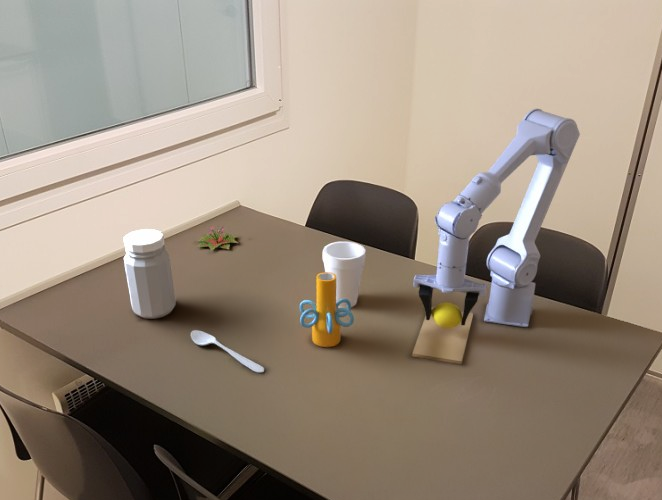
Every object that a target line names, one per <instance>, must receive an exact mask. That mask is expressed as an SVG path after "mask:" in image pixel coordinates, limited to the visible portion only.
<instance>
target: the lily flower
mask: <svg viewBox="0 0 662 500" xmlns="http://www.w3.org/2000/svg"><path fill="white" fill-rule="evenodd" d="M219 226H220V225H218V226H217V228H220V227H219ZM213 229H214V230H213ZM224 230H225V228H224V226H222V227H221V229H220V230H219V229H217V232H216V230H215V227H214V226H213V225H212V227H210V231H208V233H206V235H205V236H203V237H201V238H200V239H197V240H196V241H197V242H198V241H201V242H200V243H199V244H198V245H197V246H196V248H203V247H205V248H206V247H208V248H209V249H210V251H211V252H212V251H213V250H214V249H217V248H220V249H221V248H222V249H225V250H226V249H227V250H230V247H231V245H230V243H233V244H234V243H235V244H239V242H238V241H237V240H236V238H237V237H238V235H232V234H231V235H229V234H228V235H227V234H226V233H224ZM211 232H212V233H211Z"/></svg>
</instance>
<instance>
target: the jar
mask: <svg viewBox="0 0 662 500" xmlns="http://www.w3.org/2000/svg"><path fill="white" fill-rule="evenodd" d="M123 243H124V247H125V253H126V254H125V255H124V257H123V264H124V269H125V276H126V282H127V287H128V293H129V298H130V299H129V300H130V304H131V309H132V312H133V313H134V314H135V315H137V316H139V317H140V318H143V319H151V320H152V319H160V318H163V317H165V316H168V315H169V314H171V312H172V311H173V309H174V308H175V307H176V305H177V303H176V296H175V295H176V294H175V288H174V287H175V286H174V279H173V271H172V264H171V256H170V254H169V252H168V250H167V249H166V246H165V235H164V234H163V232H162V231H159V230H156V229H151V228H149V229H148V228H144V229H137V230H134V231H131V232H129V233H127V234H126V235H125V236H124V237H123Z"/></svg>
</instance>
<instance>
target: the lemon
mask: <svg viewBox="0 0 662 500" xmlns="http://www.w3.org/2000/svg"><path fill="white" fill-rule="evenodd" d="M433 307H434V308H433V309H432V310H431V314H432V317H433V319H434V321H435V322H436V323H437V324H438V325H439V326H440V327H443V328H453V327H456V326H457V325H458V324H459V323H460V322H461V321H462V314H461V311H462V310H461V309H460V308H459V306H458V305H456V304H454V303H452V302H449V301H448V302H447V301H446V302H445V301H443V302H440V303H438V304H437V305H436V306H433Z"/></svg>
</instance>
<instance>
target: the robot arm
mask: <svg viewBox="0 0 662 500" xmlns="http://www.w3.org/2000/svg"><path fill="white" fill-rule="evenodd" d="M580 135H581V133H580V131H579V128H578V124H577V122H576V121H575V119H573V118H568V117H563V116H561V115H557V114H553V113H551V112H547V111H544V110H543V109H541V108H533V109H530V110H529V111H528V112H527V113H526V114H525V116H523V118H522V120H520V121H519V122H518V123H517V127H516V135H515V136H514V137H513V139H512V141H511V142H510V143H509V144H508V145H507V146H506V148H505V149H504V150H503V152H502V153H501V154H500V155H499V157H498V158H497V159H496V161H495V162H494V163H493V164H492V166H490V168H489V169H488V171H485V172H478V173H477V174H476V175H474V177H473V178H472V179H471V180H470V182H469V183H468V184H467V185H466V186H465V188H463V190H461V192H460V193H459V194H458V195H457V196H456V198H454V200H452V201H448V202H446V203H444V204H443V205H442V206H440V207H439V209H438V211H437V214H436V216H434V223H435V225H436V226H437V228H438V233H437V234H438V236H439V242H438V253H437V263H436V264H437V265H436V274H428V275H427V274H424V275H423V274H422V275H421V274H415V275H414V276H413V277H414V278H413V282H412V283H413V284H412V287H413V288H416V289H417V288H418V292H417V294H418V297H419V299H420V300H421V303H422V305H423V309H424V314H425V316H426V320H430V317H431V309H432V307H433V306H432V303H433V293H434V289H436V290H440V291H441V293H443V294H450V295H451V294H453V293H465V297H464V302H463V303H464V304H463V305H464V306H463V312H464V313H463V318H462V322H461V325H465V322H466V319H467V317H468V314H469V313H471V311H472V310H473V308H474V307H475V305H476V304H477V303H478V300H479V297H483V298H484V297H486V292H487V291H486V290H487V283H483V282H482V283H481V282H477V281H474V280H471V279H468V278H466V271H467V262H468V253H469V245H470V239H471V238H470V237H471V236H472V235H473V234H474V233H475V232H476V231H477V229H478V227H479V223H480V220H481V219H482V216H483V213H484V212H485V211H486V210H487V208H489V207H490V205H491V204H492V203H493V202H494V201H495V200H496V199H497V197H498V196H499V195H500V194H501V191H502V183H503V182H504V181H505V180H506V179H507V178H508V177H510V176H511V175H512V174H513V173H514V172H515V171H516V170H517V169H518V168H519V167H520V166H521V165H522V164H523V163H524V162H525V161H527V159H528V158H529V157H531V156H536V159H537V161H538V163H537V165H536V168H535V170H534V173H533V175H532V177H531V180H530V183H529V185H528V187H527V189H526V192H525V195H524V197H523V199H522V203H521V205H520V207H519V210H518V212H517V215H516V216H515V219H514V222H513V224H512V226H511V230H510V231H509V233H508V234H506V235H504V236H501V237H498V239H497V241H496V243H495V245H494V246H493V248H492V249H491V251H490V252H489V253H488V255H487V258H486V267H487V269H488V270H489V271H490V277H491V285H490V291H489V297H488V298H489V299H488V303H487V304H486V306H485V307H486V308H485V313H484V317H483V321H484V322H487V323H493V324H501V325H507V326H514V327H520V328H529V325H530V319H531V316H532V315H533V310H534V307H533V302H534V296H535V290H536V282H533V280H534V279H535V277H536V275H537V272H538V265H539V261H540V258H541V254H540V252H539V249H538V247H537V245H536V240H537V238H538V235H539V233H540V230H541V228H542V225H543V223H544V220H545V218H546V216H547V213H548V211H549V210H550V209H549V208H550V207H551V204H552V201H553V199H554V197H555V194H556V192H557V190H558V187H559V185H560V183H561V181H562V178H563V175H564V173H565V171H566V169H567V167H568V163H569V161H570V159H571V156H572V154H573V152H574V149H575V147H576V145H577V143H578V140H579V138H580Z"/></svg>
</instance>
